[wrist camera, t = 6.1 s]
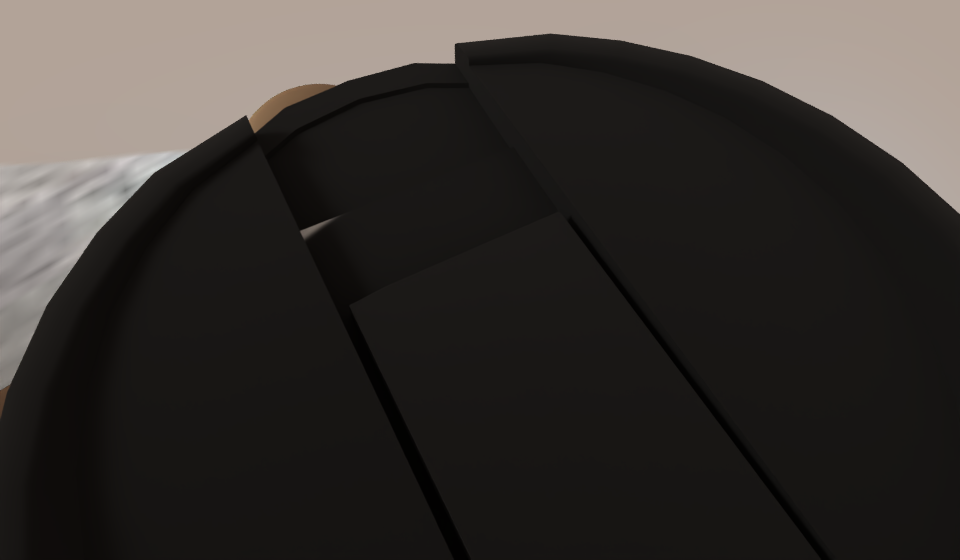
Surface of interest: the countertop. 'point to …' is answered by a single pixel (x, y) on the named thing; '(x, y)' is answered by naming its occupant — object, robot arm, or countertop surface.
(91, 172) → the countertop surface
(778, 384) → the travel mug
